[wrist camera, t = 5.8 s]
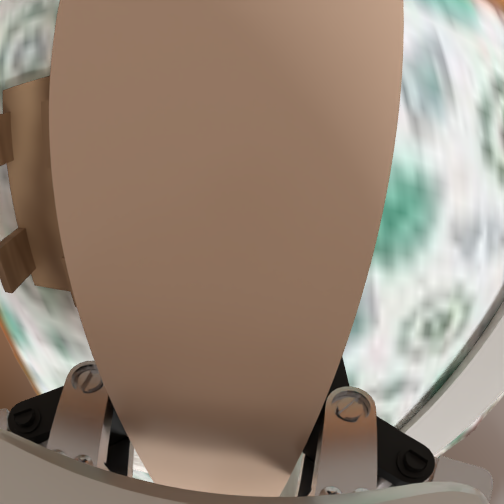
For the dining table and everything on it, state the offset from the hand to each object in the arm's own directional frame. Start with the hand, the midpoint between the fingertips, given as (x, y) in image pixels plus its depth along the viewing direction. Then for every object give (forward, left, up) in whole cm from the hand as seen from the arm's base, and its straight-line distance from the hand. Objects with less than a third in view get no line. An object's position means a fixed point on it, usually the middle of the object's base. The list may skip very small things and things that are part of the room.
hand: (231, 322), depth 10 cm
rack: (+15, -1, -11) cm, 19 cm away
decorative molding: (-30, +24, -12) cm, 40 cm away
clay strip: (0, 0, -1) cm, 1 cm away
